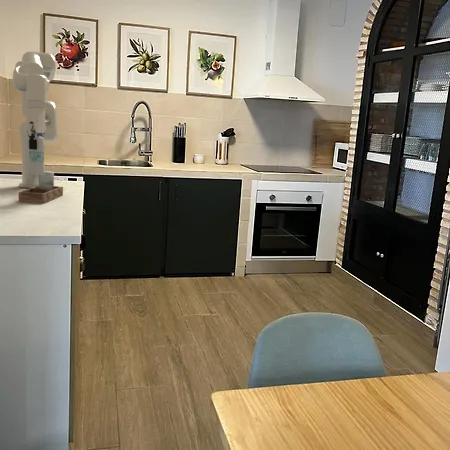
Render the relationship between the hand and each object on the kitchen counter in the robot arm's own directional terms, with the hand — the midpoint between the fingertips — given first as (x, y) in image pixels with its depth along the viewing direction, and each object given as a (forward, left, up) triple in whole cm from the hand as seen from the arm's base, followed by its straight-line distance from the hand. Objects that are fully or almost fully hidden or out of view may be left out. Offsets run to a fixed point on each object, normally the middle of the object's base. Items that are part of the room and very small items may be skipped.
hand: (36, 148), depth 211 cm
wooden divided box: (-5, 0, -22) cm, 23 cm away
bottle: (0, 0, -12) cm, 12 cm away
